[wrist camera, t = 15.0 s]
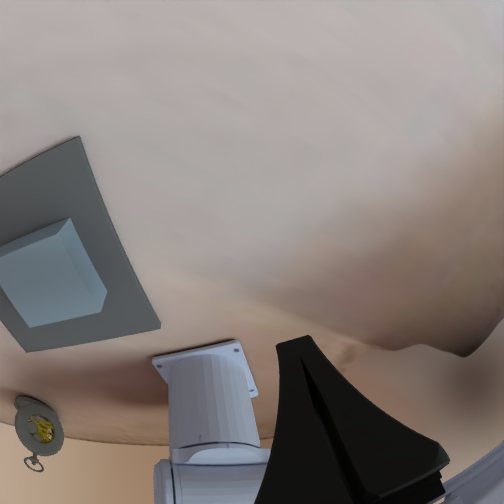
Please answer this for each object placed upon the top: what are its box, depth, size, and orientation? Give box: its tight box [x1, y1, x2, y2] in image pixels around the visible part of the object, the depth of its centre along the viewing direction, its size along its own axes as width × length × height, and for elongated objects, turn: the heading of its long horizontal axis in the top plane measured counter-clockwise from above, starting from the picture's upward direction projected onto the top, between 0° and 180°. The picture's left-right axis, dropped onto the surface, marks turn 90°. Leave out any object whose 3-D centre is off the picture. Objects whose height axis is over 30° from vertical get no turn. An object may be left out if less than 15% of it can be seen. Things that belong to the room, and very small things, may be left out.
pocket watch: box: [14, 397, 64, 472], centre depth 23 cm, size 8×8×10 cm
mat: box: [0, 136, 161, 353], centre depth 18 cm, size 15×15×1 cm
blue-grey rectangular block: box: [0, 218, 107, 328], centre depth 17 cm, size 6×2×7 cm
